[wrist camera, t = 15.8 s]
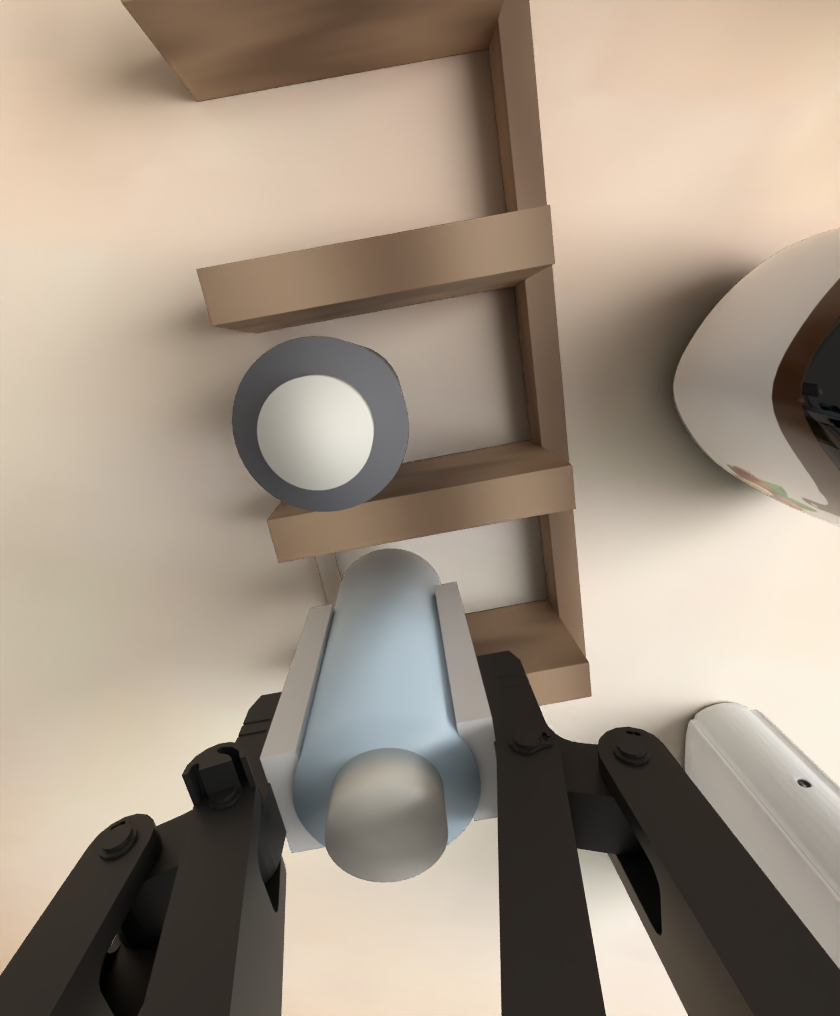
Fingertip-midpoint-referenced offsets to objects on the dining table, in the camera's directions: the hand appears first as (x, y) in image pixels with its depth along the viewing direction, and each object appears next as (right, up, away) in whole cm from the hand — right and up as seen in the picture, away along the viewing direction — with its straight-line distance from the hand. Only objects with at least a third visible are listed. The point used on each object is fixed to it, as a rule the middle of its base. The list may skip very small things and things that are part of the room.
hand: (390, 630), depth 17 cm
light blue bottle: (0, +1, +2) cm, 2 cm away
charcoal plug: (-2, +9, +3) cm, 9 cm away
